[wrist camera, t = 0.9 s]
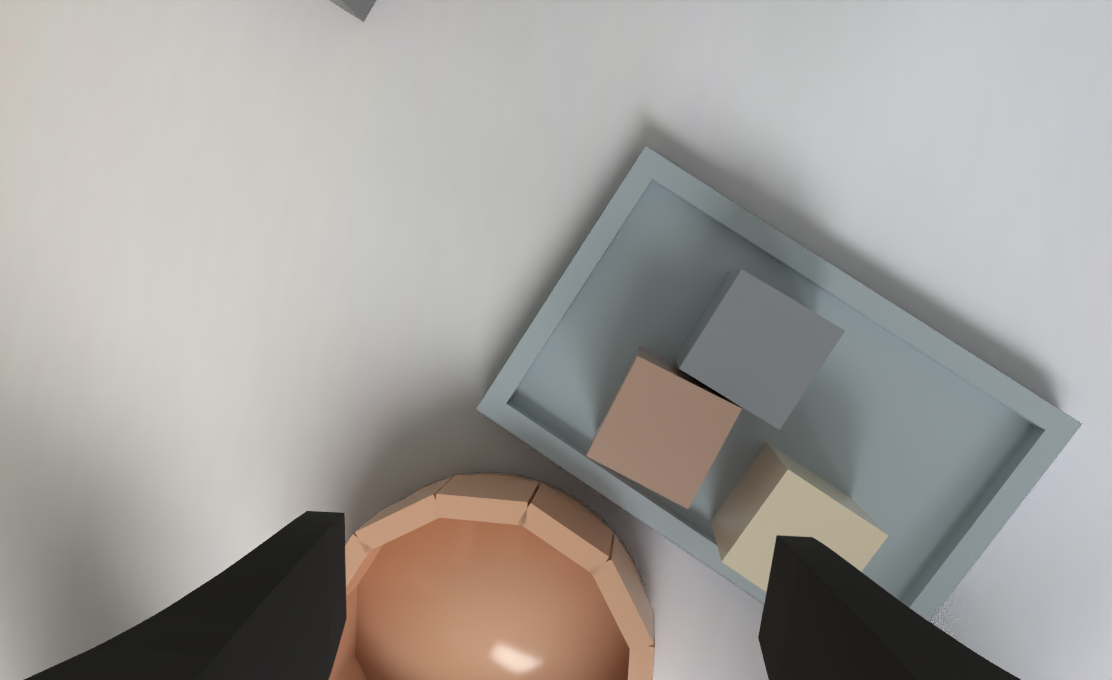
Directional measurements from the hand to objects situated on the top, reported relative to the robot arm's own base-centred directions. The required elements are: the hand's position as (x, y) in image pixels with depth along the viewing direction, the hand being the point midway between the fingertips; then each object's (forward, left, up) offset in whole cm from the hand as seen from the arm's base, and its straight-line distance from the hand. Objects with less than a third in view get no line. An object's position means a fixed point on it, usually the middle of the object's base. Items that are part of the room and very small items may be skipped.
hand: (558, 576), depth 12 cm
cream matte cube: (-7, -1, -15) cm, 16 cm away
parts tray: (-4, -3, -15) cm, 16 cm away
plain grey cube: (-2, -5, -15) cm, 16 cm away
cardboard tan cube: (-1, -1, -15) cm, 15 cm away
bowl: (-1, +9, -15) cm, 18 cm away
